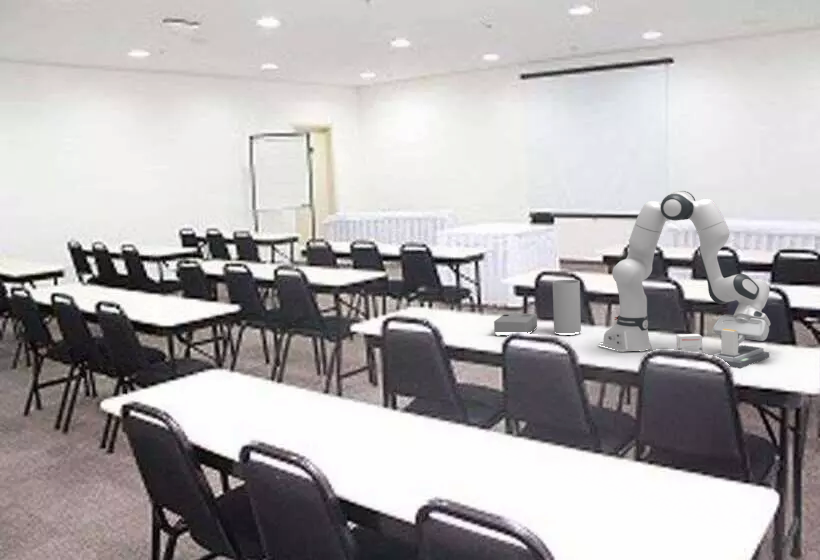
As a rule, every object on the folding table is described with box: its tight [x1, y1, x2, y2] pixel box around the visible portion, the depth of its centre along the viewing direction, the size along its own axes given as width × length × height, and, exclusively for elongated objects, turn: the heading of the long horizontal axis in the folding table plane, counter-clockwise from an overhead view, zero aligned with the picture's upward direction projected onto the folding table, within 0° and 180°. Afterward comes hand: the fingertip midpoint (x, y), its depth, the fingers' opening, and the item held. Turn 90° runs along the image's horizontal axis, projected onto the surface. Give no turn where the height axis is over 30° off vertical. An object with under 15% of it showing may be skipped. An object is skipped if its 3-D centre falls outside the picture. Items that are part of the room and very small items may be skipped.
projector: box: [493, 312, 538, 333], centre depth 361 cm, size 17×22×8 cm
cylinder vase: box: [552, 279, 582, 333], centre depth 351 cm, size 12×12×25 cm
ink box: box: [675, 333, 703, 354], centre depth 284 cm, size 9×5×12 cm, turn 84°
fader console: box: [713, 344, 770, 369], centre depth 287 cm, size 13×22×3 cm, turn 128°
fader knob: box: [718, 329, 740, 358], centre depth 282 cm, size 6×4×11 cm, turn 38°
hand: (733, 345), depth 284 cm, fingers closed
